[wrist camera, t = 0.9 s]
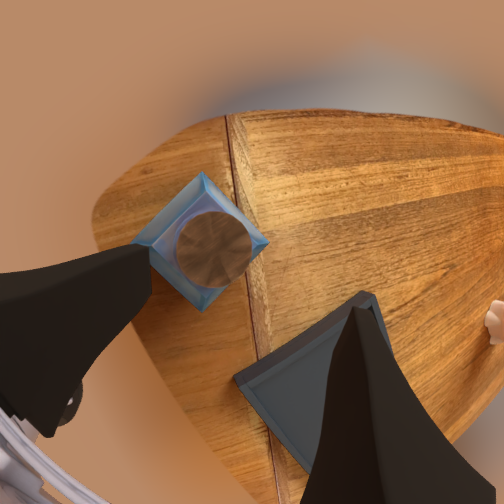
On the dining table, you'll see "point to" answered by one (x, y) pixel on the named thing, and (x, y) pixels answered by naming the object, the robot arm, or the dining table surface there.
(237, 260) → the perfume bottle
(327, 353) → the tray
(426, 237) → the dining table surface
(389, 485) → the robot arm
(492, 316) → the figurine
